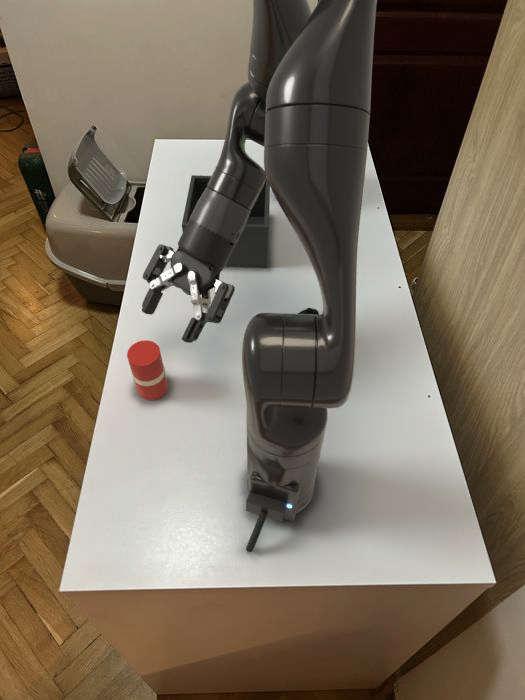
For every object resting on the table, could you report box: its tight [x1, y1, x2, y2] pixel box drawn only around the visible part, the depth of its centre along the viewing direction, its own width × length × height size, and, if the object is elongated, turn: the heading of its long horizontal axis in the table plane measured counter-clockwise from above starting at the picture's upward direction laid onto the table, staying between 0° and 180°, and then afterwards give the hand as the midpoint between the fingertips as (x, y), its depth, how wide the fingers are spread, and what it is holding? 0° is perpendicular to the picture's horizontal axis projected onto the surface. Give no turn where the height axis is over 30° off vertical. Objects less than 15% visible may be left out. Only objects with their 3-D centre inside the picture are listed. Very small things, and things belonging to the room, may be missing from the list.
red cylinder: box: [126, 339, 169, 401], centre depth 81 cm, size 5×5×9 cm
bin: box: [181, 174, 271, 269], centre depth 104 cm, size 16×16×10 cm
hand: (166, 327), depth 79 cm, fingers open, 8 cm apart
